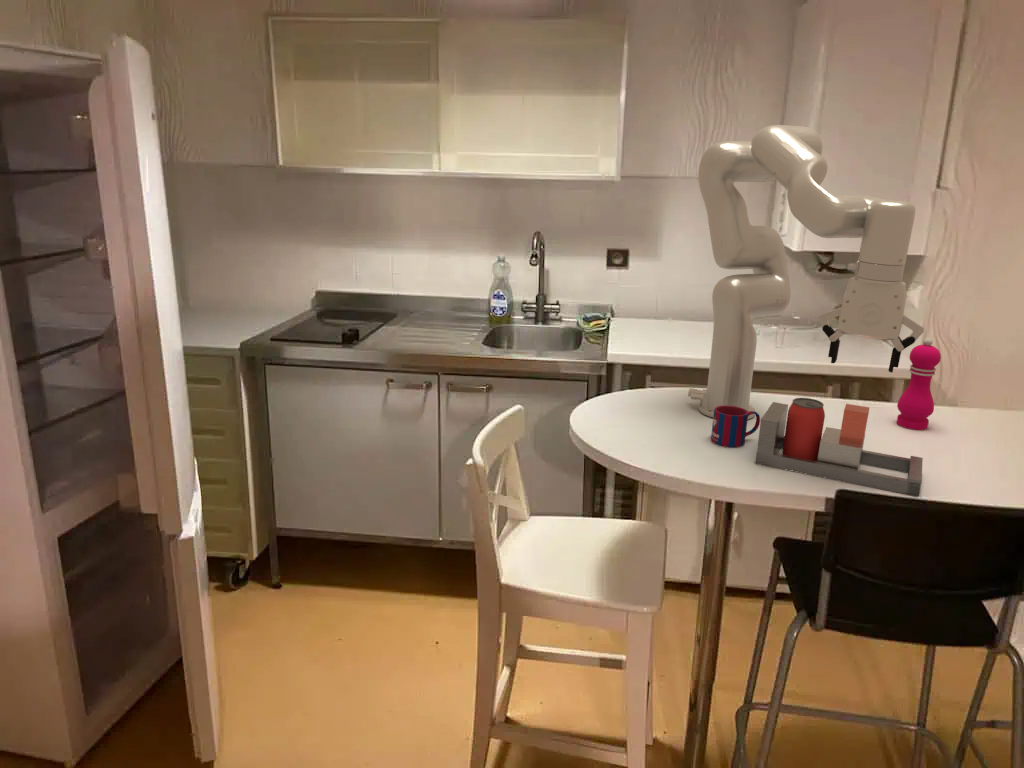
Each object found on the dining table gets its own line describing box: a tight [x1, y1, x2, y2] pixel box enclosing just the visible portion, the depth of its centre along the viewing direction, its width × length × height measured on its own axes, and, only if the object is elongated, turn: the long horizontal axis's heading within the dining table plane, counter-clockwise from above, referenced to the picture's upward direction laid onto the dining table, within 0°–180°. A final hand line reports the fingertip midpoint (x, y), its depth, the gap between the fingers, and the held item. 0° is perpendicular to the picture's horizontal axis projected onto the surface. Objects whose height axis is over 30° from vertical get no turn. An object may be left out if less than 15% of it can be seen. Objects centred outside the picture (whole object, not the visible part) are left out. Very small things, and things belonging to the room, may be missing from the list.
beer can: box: [781, 397, 826, 461], centre depth 147 cm, size 7×7×12 cm
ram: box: [817, 403, 870, 470], centre depth 144 cm, size 7×9×12 cm
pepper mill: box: [896, 337, 941, 431], centre depth 168 cm, size 7×7×20 cm
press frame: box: [754, 401, 924, 497], centre depth 144 cm, size 28×12×9 cm, turn 62°
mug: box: [710, 405, 761, 448], centre depth 157 cm, size 7×10×7 cm
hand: (861, 366), depth 140 cm, fingers open, 9 cm apart
